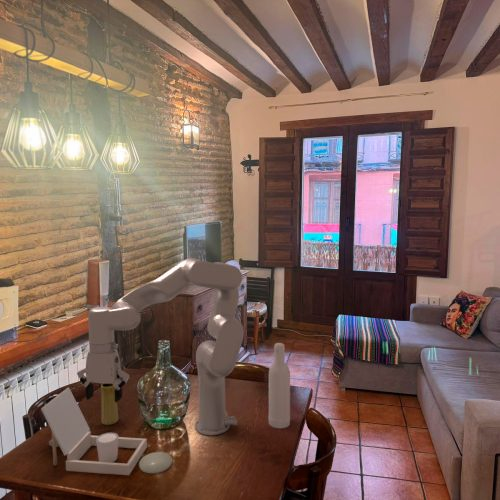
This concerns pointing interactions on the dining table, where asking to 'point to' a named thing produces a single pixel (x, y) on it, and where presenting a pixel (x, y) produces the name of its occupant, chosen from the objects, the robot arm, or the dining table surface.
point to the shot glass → (107, 447)
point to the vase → (108, 404)
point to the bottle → (279, 390)
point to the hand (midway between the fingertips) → (103, 399)
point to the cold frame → (83, 438)
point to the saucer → (155, 462)
